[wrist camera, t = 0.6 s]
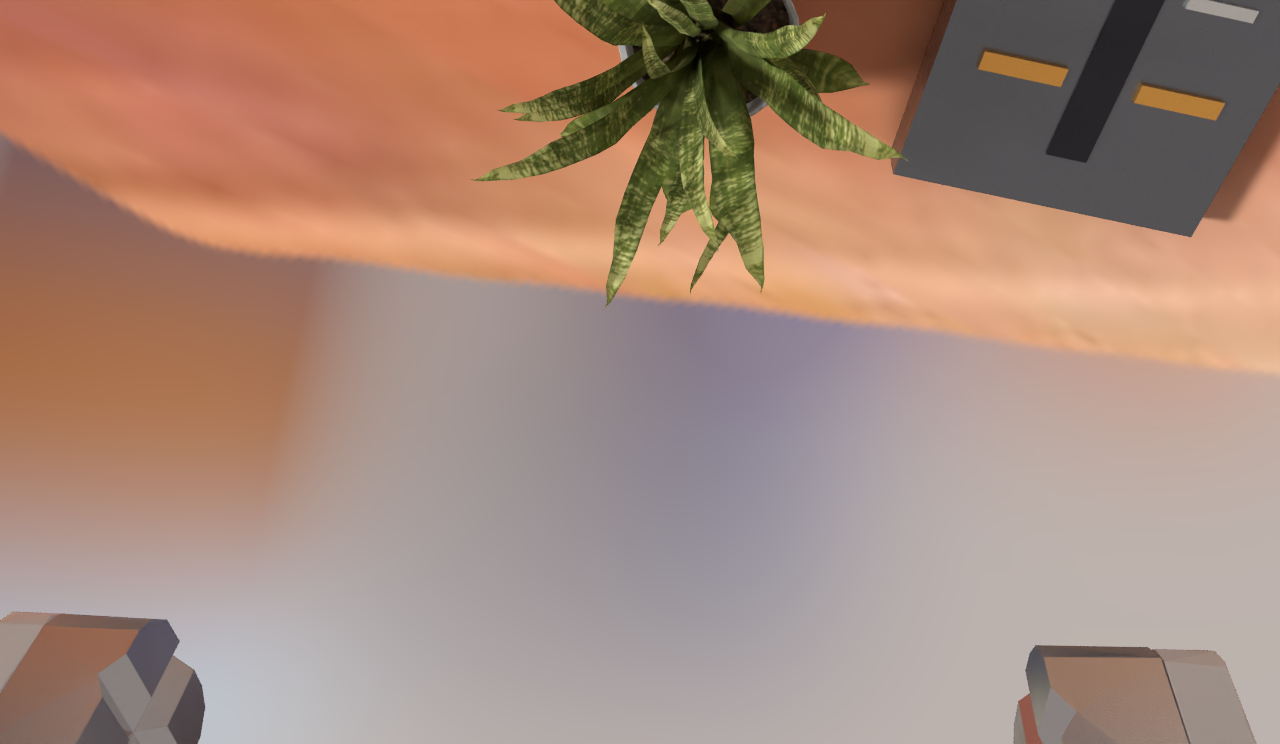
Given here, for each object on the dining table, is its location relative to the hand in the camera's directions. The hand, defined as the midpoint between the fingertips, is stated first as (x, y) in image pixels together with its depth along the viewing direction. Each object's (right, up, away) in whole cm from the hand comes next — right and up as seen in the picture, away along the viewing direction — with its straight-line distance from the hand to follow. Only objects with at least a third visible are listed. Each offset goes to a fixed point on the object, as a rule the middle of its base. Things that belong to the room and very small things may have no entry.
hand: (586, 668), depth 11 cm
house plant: (+2, +20, +38) cm, 43 cm away
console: (+21, +19, +36) cm, 45 cm away
